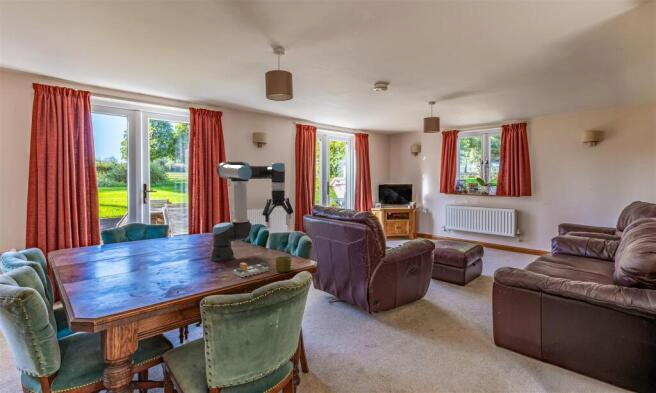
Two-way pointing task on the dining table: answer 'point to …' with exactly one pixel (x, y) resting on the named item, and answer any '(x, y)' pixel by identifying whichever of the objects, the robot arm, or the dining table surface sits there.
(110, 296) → the dining table surface
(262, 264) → the console
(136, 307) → the dining table surface
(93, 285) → the dining table surface
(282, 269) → the mug
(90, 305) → the dining table surface
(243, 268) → the fader
